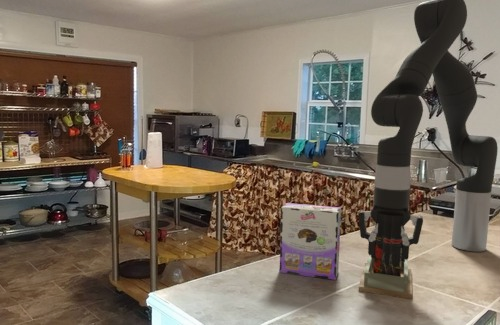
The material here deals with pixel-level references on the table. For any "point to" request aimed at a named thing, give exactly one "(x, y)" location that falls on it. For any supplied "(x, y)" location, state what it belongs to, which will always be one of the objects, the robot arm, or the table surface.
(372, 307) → the table surface
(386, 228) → the deodorant
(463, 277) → the table surface
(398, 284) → the holder
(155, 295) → the table surface
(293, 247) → the candy box
